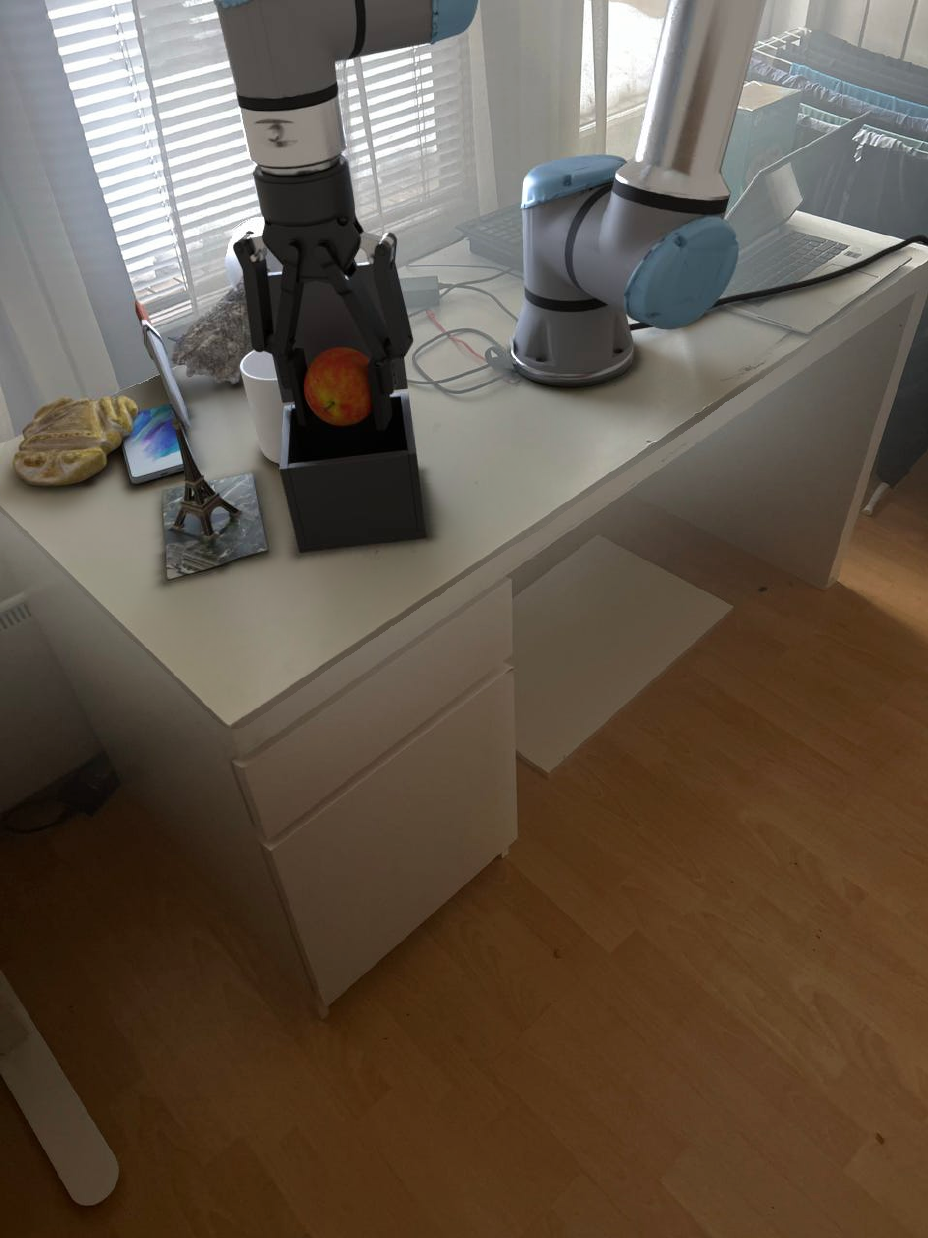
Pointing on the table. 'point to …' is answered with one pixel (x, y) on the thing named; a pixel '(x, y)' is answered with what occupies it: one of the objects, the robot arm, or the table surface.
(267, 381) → the mug
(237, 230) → the toilet paper
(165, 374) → the dagger
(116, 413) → the sculpture
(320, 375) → the fruit
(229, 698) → the table surface
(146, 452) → the smartphone
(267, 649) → the table surface
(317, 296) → the lid
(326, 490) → the open storage box
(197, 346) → the rock
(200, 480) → the eiffel tower figurine
